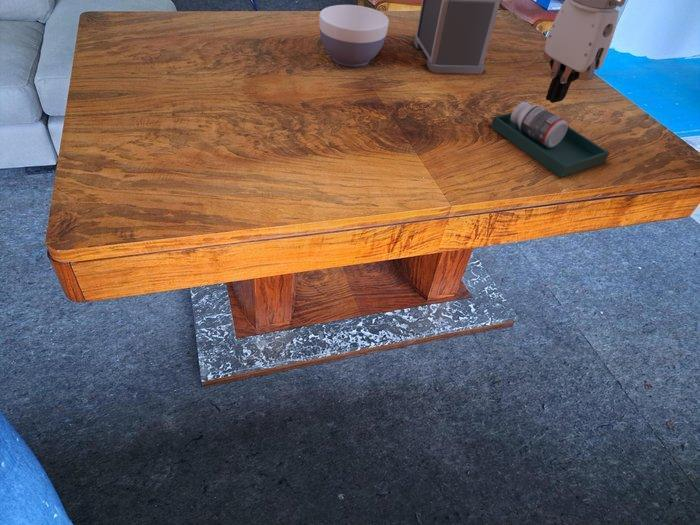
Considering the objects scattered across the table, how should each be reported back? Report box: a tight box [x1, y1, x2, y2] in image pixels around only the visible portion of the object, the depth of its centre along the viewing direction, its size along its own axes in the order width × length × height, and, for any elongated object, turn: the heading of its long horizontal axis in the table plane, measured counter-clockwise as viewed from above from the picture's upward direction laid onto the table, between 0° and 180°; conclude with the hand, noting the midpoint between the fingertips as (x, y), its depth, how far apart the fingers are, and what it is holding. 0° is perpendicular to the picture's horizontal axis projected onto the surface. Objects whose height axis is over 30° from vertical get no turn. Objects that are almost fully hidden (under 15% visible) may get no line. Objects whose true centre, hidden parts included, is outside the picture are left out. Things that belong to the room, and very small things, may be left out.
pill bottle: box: [511, 101, 569, 148], centre depth 99 cm, size 6×6×10 cm
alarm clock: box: [413, 0, 502, 75], centre depth 121 cm, size 18×13×18 cm
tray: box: [490, 112, 610, 178], centre depth 100 cm, size 19×12×2 cm, turn 30°
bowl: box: [318, 4, 390, 68], centre depth 118 cm, size 16×16×10 cm
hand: (554, 99), depth 96 cm, fingers closed
